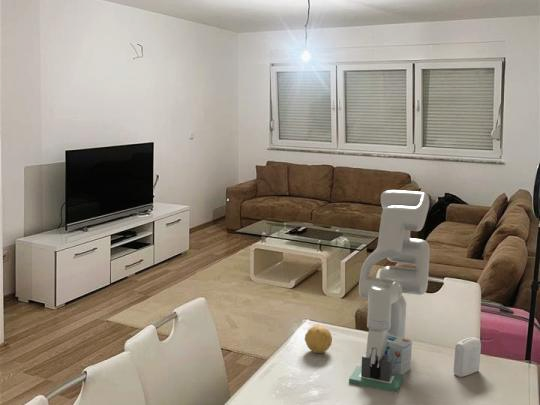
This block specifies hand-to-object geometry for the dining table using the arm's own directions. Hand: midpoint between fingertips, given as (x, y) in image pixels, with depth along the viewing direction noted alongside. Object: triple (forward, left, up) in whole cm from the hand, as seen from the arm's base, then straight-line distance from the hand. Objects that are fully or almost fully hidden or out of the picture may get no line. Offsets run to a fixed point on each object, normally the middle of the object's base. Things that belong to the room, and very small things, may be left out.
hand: (376, 374), depth 190 cm
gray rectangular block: (0, 0, -1) cm, 1 cm away
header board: (0, 0, -2) cm, 2 cm away
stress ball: (-13, -25, -3) cm, 28 cm away
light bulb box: (-12, +3, -3) cm, 13 cm away
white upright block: (-19, +27, -3) cm, 33 cm away
